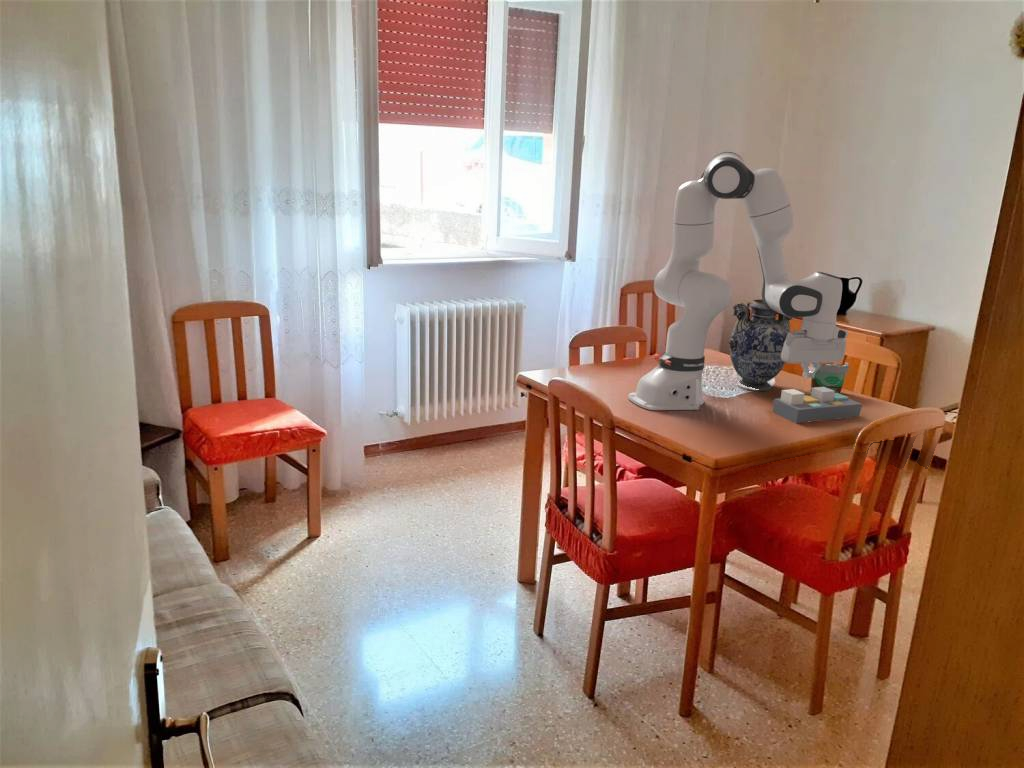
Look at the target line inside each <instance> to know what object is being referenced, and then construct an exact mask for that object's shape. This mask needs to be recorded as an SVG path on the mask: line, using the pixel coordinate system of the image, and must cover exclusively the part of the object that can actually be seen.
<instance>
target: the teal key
mask: <svg viewBox="0 0 1024 768" xmlns="http://www.w3.org/2000/svg"><path fill="white" fill-rule="evenodd" d="M848 398H849V396H847V395H843V394H842V393H840V394H839V393H835V394H834V400H835V401H842V400H848Z"/></svg>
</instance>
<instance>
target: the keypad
mask: <svg viewBox="0 0 1024 768" xmlns="http://www.w3.org/2000/svg"><path fill="white" fill-rule="evenodd" d="M780 399H781V397H780V398H774V400H773V407H772V412H773V414H776V415H777V416H780V417H782V418H784V419H787V420H789V421H790V420H791V422H792V421H793V423H794V422H795V423H794V424H802V423H801V422H805V423H809V422H808V421H815V422H818V421H817V420H824V421H830V420H829V419H834V420H839V419H838V418H844V419H848V418H847V417H854V418H860V416H861V411H862V407H863V406H862V405H863V404H862V403H861V402H859V401H855V400H854V399H851V398H849V397H848V400H842V401H835V400H833V401H831V402H818V403H809V404H806V403H803V404H798V405H789V404H787V403H785V402H783V401H781V400H780Z"/></svg>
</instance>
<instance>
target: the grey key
mask: <svg viewBox="0 0 1024 768" xmlns="http://www.w3.org/2000/svg"><path fill="white" fill-rule="evenodd" d="M810 392H811V391H810ZM834 394H835V391H834V390H831V389H829V388H826V387H814V388H812V392H811V393H810V396H811V397H813V398H815V399H818V400H819V402H831V401H833V400H834Z"/></svg>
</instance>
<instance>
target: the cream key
mask: <svg viewBox="0 0 1024 768" xmlns="http://www.w3.org/2000/svg"><path fill="white" fill-rule="evenodd" d="M804 396H806V393H804V392H803V391H800V390H797V389H795V388H791V389H781V395H780V398H781V399H780V400H781V401H783V402H785V403H787V404H789V405H798V404H803V402H804Z"/></svg>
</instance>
